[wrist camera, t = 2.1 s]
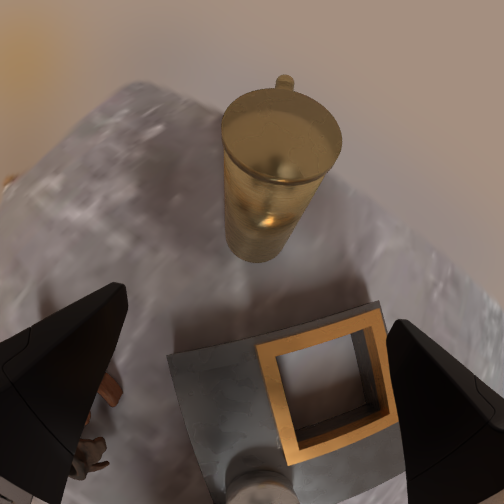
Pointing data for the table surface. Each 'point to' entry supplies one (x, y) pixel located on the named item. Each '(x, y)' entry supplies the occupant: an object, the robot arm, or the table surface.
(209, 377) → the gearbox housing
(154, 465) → the table surface
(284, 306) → the table surface
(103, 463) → the pottery mug
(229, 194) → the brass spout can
